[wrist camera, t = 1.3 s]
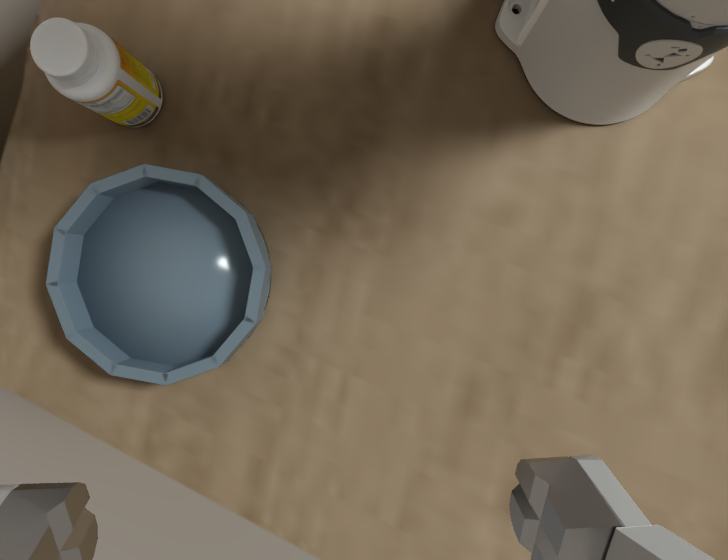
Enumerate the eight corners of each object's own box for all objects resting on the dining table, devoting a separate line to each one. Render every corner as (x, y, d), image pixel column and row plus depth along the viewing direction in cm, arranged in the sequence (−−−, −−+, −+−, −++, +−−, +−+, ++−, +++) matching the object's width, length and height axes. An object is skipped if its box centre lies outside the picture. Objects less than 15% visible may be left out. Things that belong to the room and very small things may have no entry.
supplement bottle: (116, 57, 41) (33, -9, 31) (174, 80, 41) (110, 22, 31) (95, 116, 42) (6, 69, 31) (152, 139, 42) (82, 100, 31)
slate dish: (91, 158, 42) (66, 149, 38) (286, 194, 42) (279, 188, 38) (61, 352, 43) (34, 360, 39) (253, 388, 43) (242, 399, 39)
